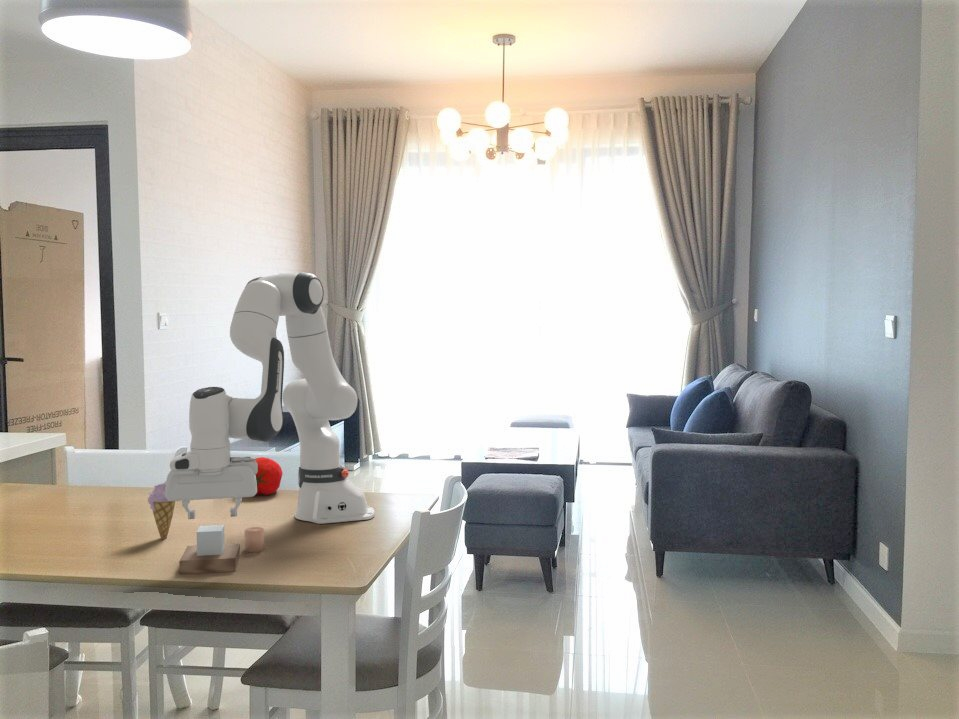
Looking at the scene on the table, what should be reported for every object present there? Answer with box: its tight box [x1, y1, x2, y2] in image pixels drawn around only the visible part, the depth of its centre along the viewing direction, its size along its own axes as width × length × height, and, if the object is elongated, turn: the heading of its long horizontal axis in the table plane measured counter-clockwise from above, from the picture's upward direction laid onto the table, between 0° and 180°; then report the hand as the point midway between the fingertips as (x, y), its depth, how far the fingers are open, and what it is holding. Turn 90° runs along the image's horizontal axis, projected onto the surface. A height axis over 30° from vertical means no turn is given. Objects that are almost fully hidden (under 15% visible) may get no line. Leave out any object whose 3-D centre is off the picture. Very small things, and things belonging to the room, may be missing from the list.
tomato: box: [251, 456, 283, 496], centre depth 272 cm, size 13×13×13 cm
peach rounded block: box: [244, 526, 265, 553], centre depth 211 cm, size 5×5×5 cm
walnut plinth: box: [179, 543, 241, 575], centre depth 199 cm, size 12×12×3 cm
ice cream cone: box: [147, 480, 176, 540], centre depth 220 cm, size 7×6×15 cm
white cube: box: [196, 524, 226, 556], centre depth 198 cm, size 6×6×6 cm
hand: (213, 517), depth 198 cm, fingers open, 8 cm apart
